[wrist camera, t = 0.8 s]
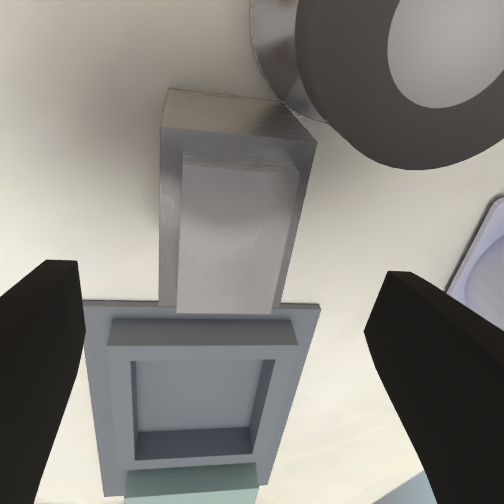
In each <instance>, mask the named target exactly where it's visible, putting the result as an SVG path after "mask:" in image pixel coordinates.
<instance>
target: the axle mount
mask: <svg viewBox="0 0 504 504" xmlns="http://www.w3.org/2000/svg"><path fill="white" fill-rule="evenodd" d="M298 1H299V0H251V10H250V27H251V37H252V43H253V49H254V52H255V56H256V59H257V62H258V64H259V67H260V69H261V71H262V74H263V76H264V77H265V79H266V81H267V82H268V84H269V86H270V87H271V88H272V89H273V91H274V92H275V93H276V94H277V96H278V97H279V98H280V99H281V100H282V101H283V102H284V103H285V104H287V105H288V106H289V107H290V108H292V109H293V110H295V111H296V112H297V113H299V114H301V115H303V116H305V117H307V118H310V119H313V120H316V121H320V122H325V123H327V122H326V121H325V120H324V119H323V118H322V117H321V116H320V114H319V113H318V112H317V110H316V109H315V107H314V106H313V105H312V103H311V101H310V99H309V97H308V95H307V94H306V92H305V89H304V86H303V84H302V81H301V78H300V74H299V70H298V66H297V61H296V52H295V20H296V12H297V5H298Z"/></svg>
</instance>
